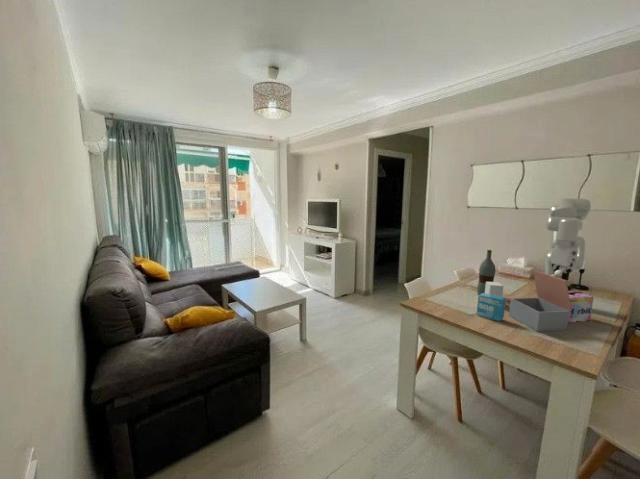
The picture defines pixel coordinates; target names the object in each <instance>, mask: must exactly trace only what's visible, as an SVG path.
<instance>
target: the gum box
mask: <svg viewBox="0 0 640 479" xmlns="http://www.w3.org/2000/svg"><path fill="white" fill-rule="evenodd" d="M568 293H569V299H570V306H571V311H570V312H569V318H568V322H569V323H577V322H576V321H581V322H589V321H588V320H590V321H591V317H592V311H593V303H594V296H593V295H591V296H590V295H588V294H584V293H583V292H582V291H570V292H569V291H568ZM549 303H550V302H549ZM556 306H557V305H556ZM565 310H566V309H565Z"/></svg>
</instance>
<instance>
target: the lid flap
mask: <svg viewBox="0 0 640 479" xmlns="http://www.w3.org/2000/svg"><path fill="white" fill-rule="evenodd" d="M532 273H533V278H534V282H535V283H534V284H535V290H536V295H537V296H536V297H537V298H540V299H543V300H545V301H547V302H550V303H552V304H554V305H557V306H559V307H561V308H563V309H566V310H568V311H571V306H570V299H569V293H568V292H569V288H568V287H569V286H568V282H567V281H568V280H567V281H566V280H563V279H560V278H562V273H564V270H562V269H561V270H556V271H555V273H554V274H553V275H548V274H545V272H542V271H539V270H535V269H533V270H532ZM557 277H558V278H557Z"/></svg>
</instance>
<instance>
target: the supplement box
mask: <svg viewBox="0 0 640 479" xmlns="http://www.w3.org/2000/svg"><path fill="white" fill-rule="evenodd" d="M485 294H489V295H494V296H498V297H503V294H504V285H502V284H501V283H500V282H498V281H496V282H495V281H493V282H486V286H485Z"/></svg>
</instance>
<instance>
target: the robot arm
mask: <svg viewBox="0 0 640 479" xmlns="http://www.w3.org/2000/svg"><path fill="white" fill-rule="evenodd" d="M591 208H592V204H591V201H590V200H589V199H587V198H562V199H559V200H558V202H557V203H556V205H553V206H551V207H550V208H549V210H548V214H547V217H546V220H545V226H546V229H547V230H548V231H550V232H551V234H550V241H549V242H550V244H549V245H550V248H551V249H552V251H549V252H547V253H546V254H545V256H544V257H545V258H544V260H545V268H544V270H545V271H544V273H545V274H548V275H553V274H554V273H555V271H556V270H562V269H563V272H564V273H562V278H560V279H563V280H566V281H569V278H570V274H571V273H572V272H574V271H579V270H581V269H583V267H584V261H585V252H586V251H585V250H586V241H585V238H584V237H582V236H578V235H579V232H580V231H581V230H582V229H583V221H584V220H585V219H586V218H587V217H588V215H589V213H590V211H591ZM557 278H558V277H557ZM542 300H543V299H542Z"/></svg>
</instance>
